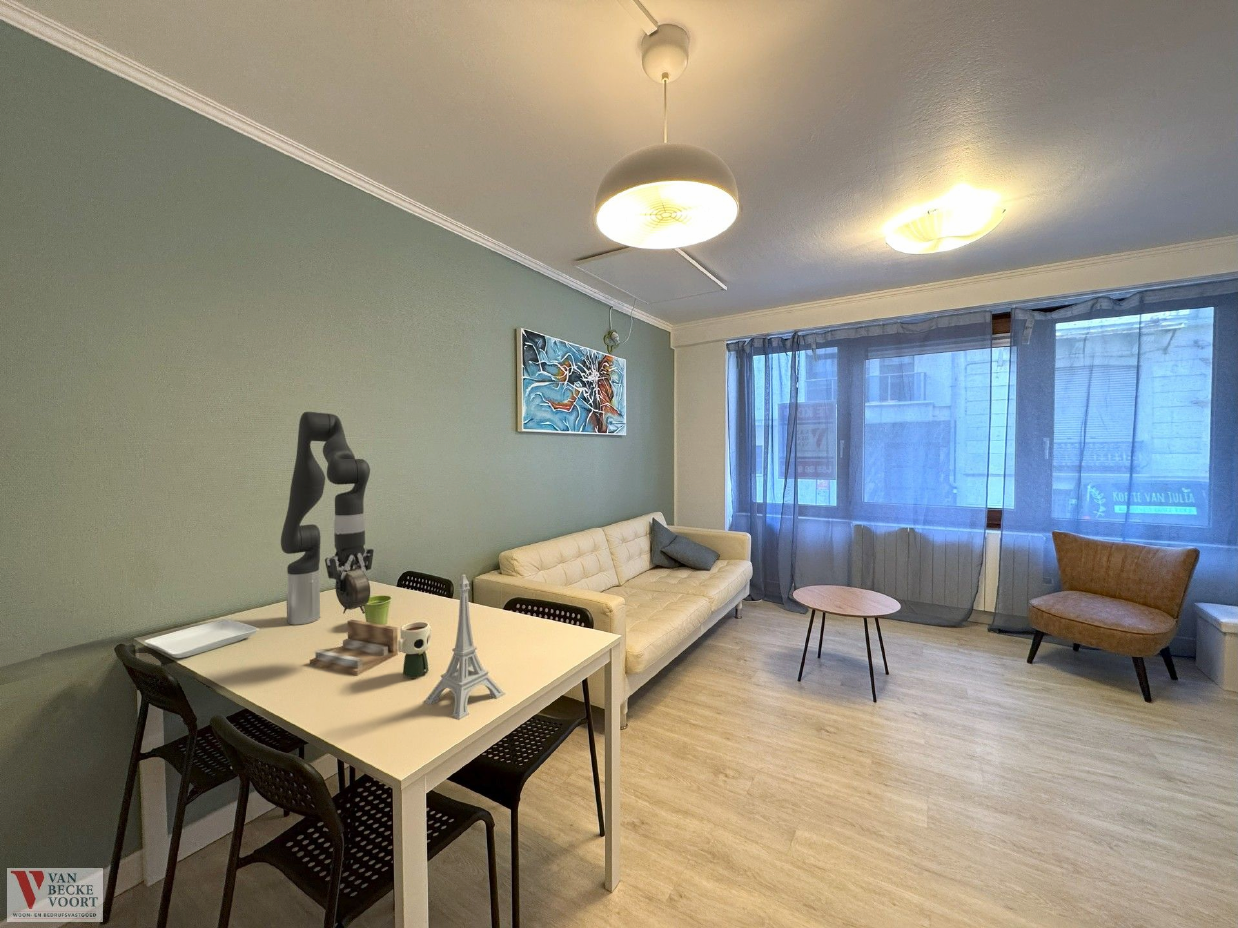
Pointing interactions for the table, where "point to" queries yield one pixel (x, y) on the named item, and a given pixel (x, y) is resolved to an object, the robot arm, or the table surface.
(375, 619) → the plant pot
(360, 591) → the alarm clock
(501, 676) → the table surface
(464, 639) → the eiffel tower
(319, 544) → the robot arm
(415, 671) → the character mug
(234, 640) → the salad plate
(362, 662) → the track board
